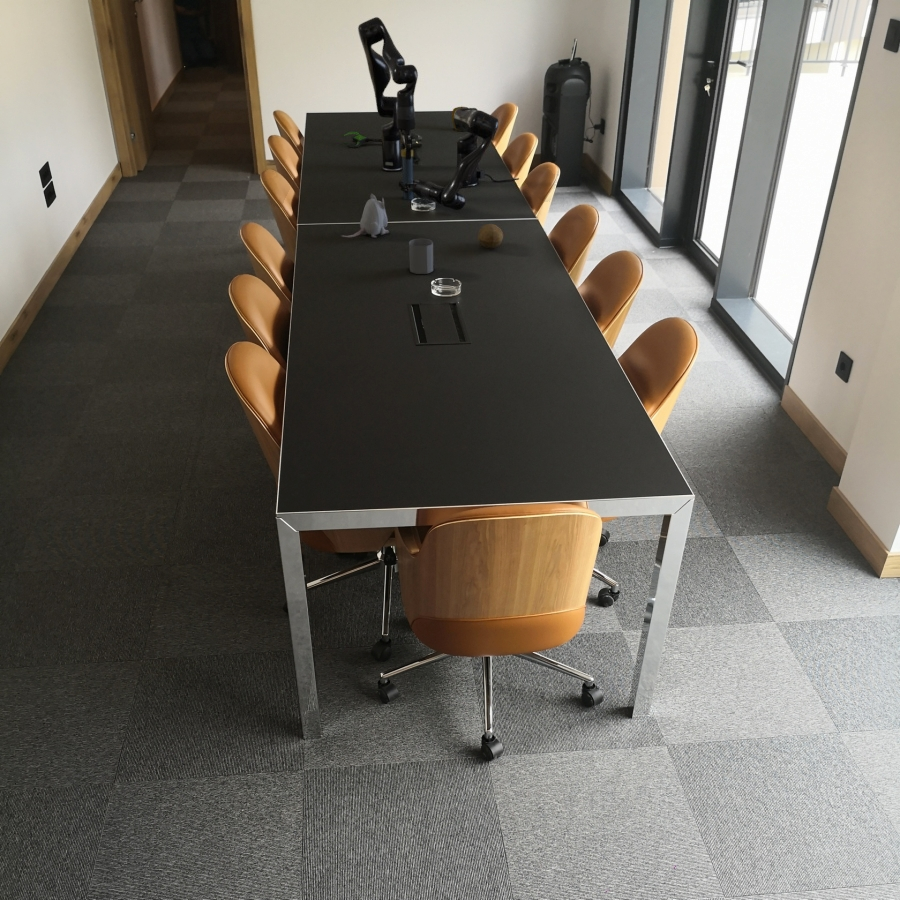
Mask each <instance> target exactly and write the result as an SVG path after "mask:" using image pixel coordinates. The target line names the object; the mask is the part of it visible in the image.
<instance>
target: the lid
mask: <svg viewBox="0 0 900 900" xmlns="http://www.w3.org/2000/svg"><path fill="white" fill-rule="evenodd" d="M401 156H403V157H406V150H405V149H403V150H401ZM412 156H413V157H414V149H412V150H411V157H412Z"/></svg>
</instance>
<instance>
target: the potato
mask: <svg viewBox="0 0 900 900" xmlns="http://www.w3.org/2000/svg"><path fill="white" fill-rule="evenodd" d="M503 238H504V233H503V230H502V229H501V228H500V227H499V226H497V225H496V224H494V223H487V224H486V223H485V224H484V225H482V227H481V228H480V229H479V231H478V234H477V241H478V242H479V244H480V245H481V246H483V247H484V248H487V249H496V248H497V247H499V246H500V245H501V244H502V241H503Z"/></svg>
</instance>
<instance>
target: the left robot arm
mask: <svg viewBox="0 0 900 900" xmlns="http://www.w3.org/2000/svg"><path fill="white" fill-rule="evenodd" d="M357 31H358V35H359V39H360V43H361V45H362V49H363V51H364V55H365V59H366V64H367V68H368V73H369V77H370V80H371V84H372V88H373V92H374V99H375V104H376V110H377V114H378V116H379V117H381V118H385V119H386V118H387V119H389V118H390V119H392V121H391V122H389V123H386V124H384V125H383V124H382V126H381V139H382V142H381V151H382V152H381V153H382V170H383V171H385V172H400V171H403V167H402V156H401V150H403V149H405V150H406V159H407V160H410V159H411V150H414V149H413V135H412V133H411V131H412V130H414V129H415V128H416V117H415V116H416V113H415V112H416V111H415V91H416V87H417V83H418V79H419V78H418V77H419V72H418V69H417V67H416V66H415V65H414V64H406V61H405V57H403V55H402V54H401V52H400V51H399V50H398V48H397V47H396V45H395V43H394V41H393V38H392V37H391V35H390V33H389V30H388V29H387V27H386V25H385V24H384V22H383V20H382V19H381V18H380V17H378V16H376V17H372V18H369V19H368V20H366V21H364V22H361V23H360V24H359V25H358V27H357ZM382 41H383V44H382V49H381V54H379V53H378V52H377V51H376V50H375V49H374V48H373V47H372V46H373V45H375V44H377V43H380V42H382ZM391 80H392V81H393V83H395V84H396V85H405V86H404V88H402V89H400V90H398V91H397V92H396V96H385V95H384V93H385V90H386V89H387V87H388V85H389V84H390V81H391ZM414 158H415V159H413V163H416V162H418V161H419V157H418V156H417V155H416V154H414Z"/></svg>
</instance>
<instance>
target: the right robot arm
mask: <svg viewBox="0 0 900 900" xmlns="http://www.w3.org/2000/svg"><path fill="white" fill-rule="evenodd" d="M499 123H500V120H499V118H498V117H496V116H493V115H492V114H489V113H487V112H485V111H484V110H480V109H479V110H478V109H477V108H476V107H467V108H460V109H457V110H456V111H455V114H454V125H455V127H456V128H457V129H458V130H464V131H465V132H467V133H466V134H465V135H464V136H460V137H459V138H458V139H457V141H456V170H455V173H454V175H453V177H452V179H451V180H450V181H449V183H448V184H447V185H446V187H444V186H440V185H438V184H436V183H434V182H432V181H428V180H425V179H418V180H417V179H413V183H410V182H409V183H405V182H403V180H400V181H398V187H400V191H401V192H402V193H403V192H405V193H408V191H411V192H413V194H415V195H416V197H418V198H420V199H422V200H425V201H427V200H428V202H432V203H435V204H438V205H442V206H443V207H445V208H448V209H451V210H454V211H460V210H462V209H464V207H465V205H466V198H465V196H464V195H463V194H462V193H461V192H459V191H460V190H461V189H467V188H469V187H475V186H477V185H478V184H479V183H480V179H481V180H482V179H485V176H487V177H488V178H490V180H491V181H492V182H494V183H505V182H512V181H519V180H520V178H519V177H516V178H510V179H502V180H497V179H494V178H493V177H492V176H491V175H490V174H488V173H485V172H486V171H485V170H484V169H480V162H481V160H482V158H483V157H484V155H485V154H486V152H487V149H488V148H489V146H490V145H491V143H492V141H493V139H494V137H495V135H496V133H497V131H498V128H499V125H500V124H499ZM454 125H453V126H454ZM479 138H482V140H481V142H480V144H479ZM406 185H407V186H406Z"/></svg>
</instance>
